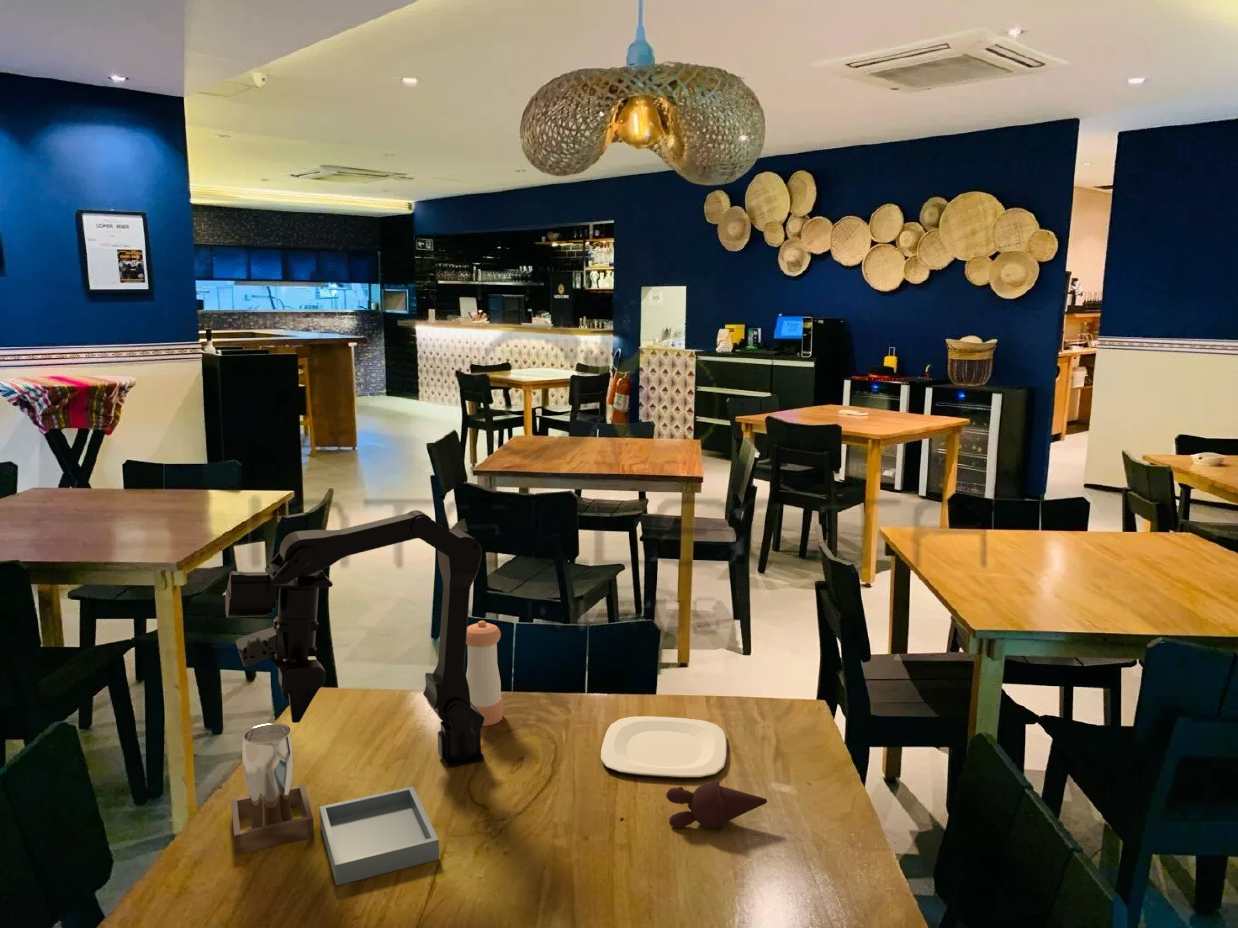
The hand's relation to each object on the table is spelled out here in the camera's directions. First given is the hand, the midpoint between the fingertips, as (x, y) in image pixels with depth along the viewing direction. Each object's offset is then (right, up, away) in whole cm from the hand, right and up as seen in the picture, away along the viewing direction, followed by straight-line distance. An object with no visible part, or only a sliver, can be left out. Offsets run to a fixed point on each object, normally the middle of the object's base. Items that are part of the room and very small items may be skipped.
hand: (291, 710), depth 141 cm
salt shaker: (+26, -10, +30) cm, 41 cm away
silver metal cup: (0, -16, -7) cm, 17 cm away
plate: (+59, -12, +18) cm, 63 cm away
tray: (+16, -16, -10) cm, 25 cm away
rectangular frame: (0, -16, -7) cm, 17 cm away
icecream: (+66, -16, -6) cm, 68 cm away
